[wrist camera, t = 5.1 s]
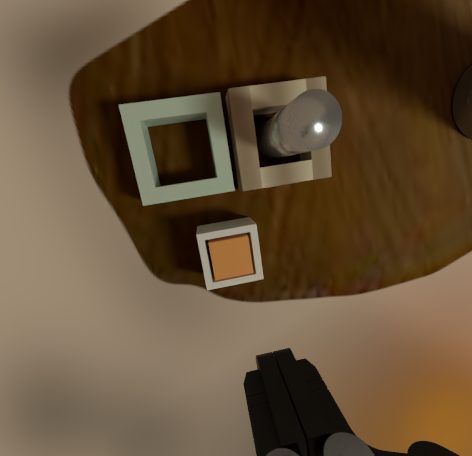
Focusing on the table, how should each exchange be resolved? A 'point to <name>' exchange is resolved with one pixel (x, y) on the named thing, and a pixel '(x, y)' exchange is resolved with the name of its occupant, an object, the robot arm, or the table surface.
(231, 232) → the housing
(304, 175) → the socket block
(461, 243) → the table surface
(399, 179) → the table surface
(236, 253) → the orange cube
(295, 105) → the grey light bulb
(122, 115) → the frame
